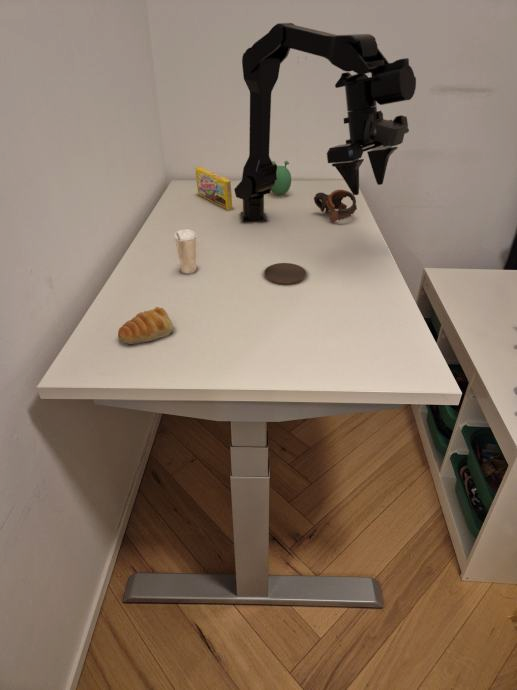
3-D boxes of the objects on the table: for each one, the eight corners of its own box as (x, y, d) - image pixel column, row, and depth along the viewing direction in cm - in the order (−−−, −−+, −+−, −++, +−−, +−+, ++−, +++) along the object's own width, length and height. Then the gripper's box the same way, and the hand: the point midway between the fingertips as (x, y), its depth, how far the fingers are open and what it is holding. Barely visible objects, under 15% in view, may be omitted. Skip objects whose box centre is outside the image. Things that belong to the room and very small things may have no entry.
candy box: (197, 195, 143) (194, 167, 138) (202, 193, 144) (200, 166, 139) (226, 210, 132) (225, 181, 127) (233, 208, 133) (232, 179, 128)
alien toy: (285, 189, 147) (287, 156, 141) (293, 197, 141) (295, 163, 135) (264, 191, 145) (264, 157, 139) (271, 199, 139) (272, 164, 133)
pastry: (129, 352, 79) (125, 334, 77) (112, 335, 83) (108, 317, 81) (177, 332, 84) (174, 314, 82) (158, 317, 88) (156, 299, 86)
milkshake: (172, 274, 101) (166, 231, 96) (184, 264, 105) (180, 221, 100) (191, 278, 100) (186, 234, 94) (202, 267, 104) (198, 224, 98)
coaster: (261, 266, 104) (261, 264, 104) (301, 264, 105) (301, 261, 105) (267, 286, 97) (267, 283, 97) (309, 283, 98) (310, 280, 98)
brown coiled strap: (355, 212, 132) (363, 192, 124) (345, 238, 128) (353, 218, 120) (315, 197, 133) (321, 177, 125) (304, 222, 129) (309, 202, 121)
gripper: (370, 109, 82) (377, 199, 88) (422, 96, 92) (425, 177, 99) (320, 118, 89) (330, 201, 96) (374, 105, 100) (379, 180, 107)
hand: (368, 189), depth 99 cm, fingers open, 9 cm apart
